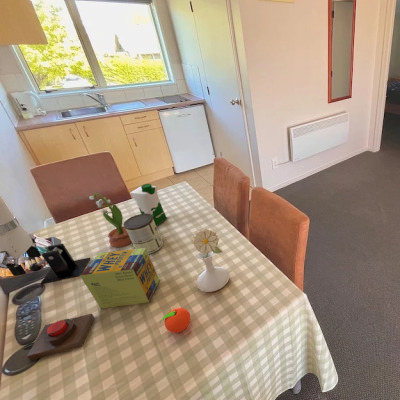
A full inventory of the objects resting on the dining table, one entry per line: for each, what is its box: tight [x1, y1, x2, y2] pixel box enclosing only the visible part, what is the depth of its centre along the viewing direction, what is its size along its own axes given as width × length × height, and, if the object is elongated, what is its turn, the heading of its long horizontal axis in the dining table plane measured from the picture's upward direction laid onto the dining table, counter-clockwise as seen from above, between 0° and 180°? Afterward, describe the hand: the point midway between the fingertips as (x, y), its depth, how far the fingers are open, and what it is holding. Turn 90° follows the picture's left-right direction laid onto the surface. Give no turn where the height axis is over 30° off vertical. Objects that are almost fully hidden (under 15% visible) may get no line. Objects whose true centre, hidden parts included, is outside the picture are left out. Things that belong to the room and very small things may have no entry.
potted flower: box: [89, 191, 133, 248], centre depth 112 cm, size 12×10×25 cm
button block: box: [26, 313, 96, 361], centre depth 78 cm, size 12×10×4 cm
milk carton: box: [129, 183, 168, 227], centre depth 127 cm, size 9×9×20 cm
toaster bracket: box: [40, 243, 91, 285], centre depth 99 cm, size 12×10×12 cm
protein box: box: [79, 248, 161, 309], centre depth 89 cm, size 10×15×16 cm
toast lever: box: [28, 247, 63, 272], centre depth 97 cm, size 12×3×3 cm
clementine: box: [159, 307, 191, 334], centre depth 80 cm, size 8×7×7 cm
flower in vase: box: [192, 228, 231, 293], centre depth 91 cm, size 13×11×25 cm
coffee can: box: [122, 213, 164, 255], centre depth 111 cm, size 10×10×14 cm
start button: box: [47, 320, 68, 337], centre depth 77 cm, size 4×4×2 cm
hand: (28, 265), depth 96 cm, fingers open, 9 cm apart
